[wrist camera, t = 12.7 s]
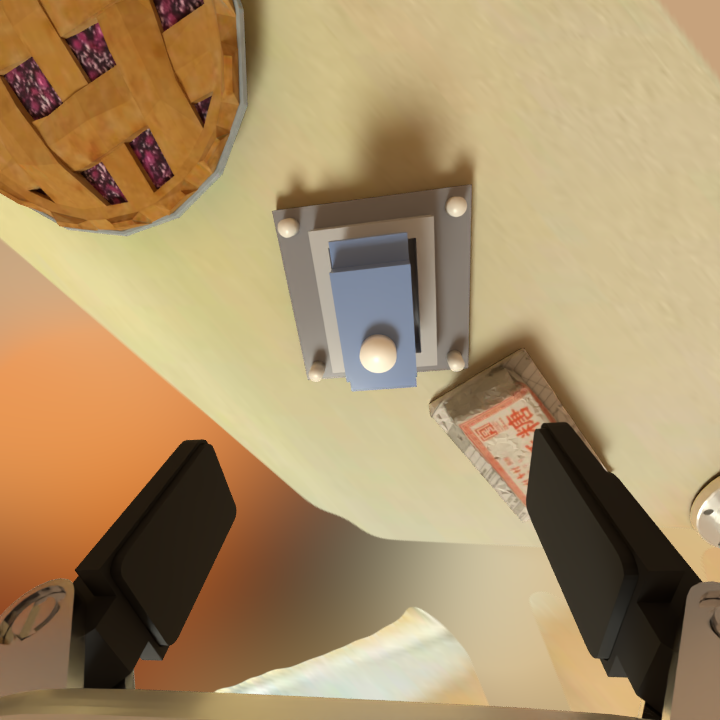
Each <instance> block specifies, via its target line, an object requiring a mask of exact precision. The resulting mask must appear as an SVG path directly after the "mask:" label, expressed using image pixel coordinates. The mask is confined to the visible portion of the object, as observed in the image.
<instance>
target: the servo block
mask: <svg viewBox="0 0 720 720" xmlns="http://www.w3.org/2000/svg"><path fill="white" fill-rule="evenodd" d="M328 243H329V249H330V256H331V262H332V270H331V272H330V273H329V275H330V281H331V288H332V294H333V300H334V306H335V312H336V318H337V325H338V331H339V337H340V343H341V349H342V355H343V362H344V368H345V374H346V380H347V382H350V383H351V390H352V391H364V390H378V389H392V388H406V387H417V385H416V377H417V368H416V351H415V334H414V317H413V301H412V284H411V267H410V262H409V253H408V237H407V231H406V232H398V233H390V234H382V235H374V236H366V237H358V238H350V239H342V240H334V241H329V242H328Z"/></svg>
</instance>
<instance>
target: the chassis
mask: <svg viewBox="0 0 720 720" xmlns="http://www.w3.org/2000/svg"><path fill="white" fill-rule="evenodd" d="M471 195H472V184H471V185H463V186H456V187H448V188H441V189H433V190H426V191H418V192H411V193H403V194H395V195H388V196H380V197H373V198H365V199H358V200H350V201H343V202H335V203H328V204H320V205H313V206H305V207H298V208H290V209H283V210H275V211H272V213H273V218H274V223H275V227H276V232H277V237H278V241H279V246H280V251H281V255H282V260H283V265H284V270H285V274H286V279H287V284H288V288H289V293H290V298H291V302H292V307H293V312H294V317H295V321H296V326H297V331H298V335H299V340H300V345H301V349H302V354H303V359H304V364H305V368H306V373H307V378H308V380H312V381H320V380H321V379H328V378H342V377H346V374H345V368H344V362H343V355H342V349H341V343H340V337H339V331H338V325H337V318H336V312H335V306H334V300H333V294H332V288H331V281H330V275H329V273H330V272H331V270H332V262H331V256H330V249H329V243H328V242H329V241H334V240H342V239H350V238H358V237H366V236H374V235H382V234H390V233H398V232H406V231H407V237H408V253H409V262H410V267H411V284H412V301H413V317H414V334H415V351H416V368H417V372H425V371H439V370H452V371H460V370H462V369H467V368H468V349H469V298H470V246H471Z"/></svg>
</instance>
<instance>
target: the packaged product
mask: <svg viewBox="0 0 720 720" xmlns="http://www.w3.org/2000/svg"><path fill="white" fill-rule="evenodd" d="M429 410H430V416H431V417H432V418H433V419H434V420H435V421H436V422H437V423H438V425H439V426H440V427H441V428H442V429H443V430H444V432H445V433H446V434H447V435H448V436H449V437H450V438H451V439H452V441H453V442H454V443H455V444H456V445H457V447H458V448H459V449H460V450H461V451H462V452H463V453H464V455H465V456H466V457H467V458H468V459H469V461H470V462H471V463H472V464H473V466H474V467H475V468H476V469H477V470H478V471H479V472H480V474H481V475H482V476H483V477H484V478H485V479H486V480H487V481H488V483H489V484H490V485H491V486H492V487H493V488H494V489H495V491H496V492H497V493H498V494H499V496H500V497H501V498H502V499H503V500H504V502H505V503H506V504H507V505H508V506H509V507H510V509H511V510H512V511H513V512H514V513H515V514H516V515H517V516H518V518H519V519H520V520H521V521H522V523H523V522H526V521H528V520H531V519H530V516H529V514H528V511H527V507H526V494H527V486H528V478H529V470H530V462H531V454H532V445H533V437H534V431H535V429H540V428H541V425H542V424H543V423H552V422H567V423H568V424H569V425H570V426H571V427H572V428H573V429H574V431H575V432H576V433H577V435H578V436H579V437H580V438H581V440H582V441H583V442H584V443H585V445H586V446H587V447H588V448H589V450H590V451H591V452H592V454H593V455H594V456H595V457H596V459H597V460H598V461H599V462H600V464H601V465H602V466H603V468H604V469H605V470H606V468H605V467H604V465H603V464H602V462H601V461H600V459H599V458H598V456H597V455H596V453H595V452H594V450H593V449H592V447H591V446H590V444H589V443H588V442H587V440H586V439H585V437H584V436H583V434H582V433H581V432H580V430H579V429H578V427H577V426H576V424H575V422H574V421H573V419H572V418H571V417H570V415H569V414H568V413H567V411H566V410H565V409H564V407H563V405H562V404H561V402H560V401H559V399H558V398H557V396H556V394H555V393H554V391H553V390H552V388H551V387H550V385H549V384H548V383H547V381H546V380H545V378H544V377H543V375H542V374H541V373H540V371H539V370H538V368H537V367H536V366H535V364H534V362H533V361H532V359H531V358H530V356H529V355H528V353H527V352H526V350H525V349H520V350H518V351H516V352H514V353H513V354H511V355H509V356H508V357H506V358H504V359H503V360H501V361H499V362H497V363H496V364H494V365H492V366H491V367H489V368H487V369H486V370H484V371H482V372H481V373H479V374H477V375H476V376H474V377H472V378H471V379H469V380H468V381H466V382H465V383H463V384H461V385H459V386H458V387H456V388H454V389H453V390H451V391H449V392H448V393H446V394H444V395H443V396H441V397H440V398H438V399H436V400H435V401H433V402H431V403H430V404H429ZM606 471H607V470H606Z"/></svg>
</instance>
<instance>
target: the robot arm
mask: <svg viewBox="0 0 720 720" xmlns="http://www.w3.org/2000/svg"><path fill="white" fill-rule="evenodd" d="M526 507H527V511H528V514H529V516H530V519H531V521H532V523H533V525H534V528H535V530H536V532H537V535H538V537H539V539H540V541H541V544H542V546H543V548H544V550H545V553H546V555H547V557H548V560H549V562H550V564H551V567H552V569H553V571H554V573H555V576H556V578H557V580H558V583H559V585H560V587H561V589H562V592H563V594H564V596H565V599H566V601H567V603H568V606H569V608H570V610H571V612H572V615H573V617H574V619H575V622H576V624H577V626H578V628H579V631H580V633H581V635H582V638H583V640H584V642H585V644H586V647H587V649H588V651H589V652H590V654H591V655H592V656H593V657H594V658H600V660H601V662H602V664H603V667H604V669H605V671H606V673H607V675H608V677H628V679H629V681H630V683H631V685H632V687H633V689H634V691H635V693H636V695H638V696H639V697H640V698H641V703H640V708H639V713H638V718H635V717H628V716H620V715H612V714H598V713H585V712H571V711H557V710H544V709H531V708H516V707H496V706H479V705H460V704H441V703H423V702H404V701H385V700H364V699H344V698H323V697H302V696H281V695H259V694H237V693H213V692H189V691H163V690H141V689H135V682H134V667H135V665H136V663H137V661H138V659H139V658H141V659H142V660H163V658H164V656H165V654H166V652H167V650H168V648H169V646H170V645H172V644H173V643H174V642H175V641H176V640H177V638H178V637H179V635H180V632H181V630H182V628H183V626H184V624H185V621H186V620H187V618H188V616H189V614H190V612H191V610H192V607H193V605H194V603H195V601H196V599H197V597H198V595H199V593H200V591H201V589H202V587H203V584H204V582H205V580H206V578H207V576H208V574H209V572H210V570H211V568H212V566H213V564H214V561H215V559H216V557H217V555H218V553H219V551H220V549H221V547H222V544H223V542H224V541H225V538H226V536H227V534H228V532H229V530H230V528H231V526H232V524H233V522H234V519H235V517H236V505H235V503H234V500H233V498H232V495H231V492H230V490H229V487H228V485H227V482H226V480H225V477H224V474H223V472H222V469H221V467H220V464H219V461H218V459H217V456H216V453H215V451H214V448H213V446H212V445H210V444H208V443H207V441H206V440H186V441H183V442H182V444H180V445H179V447H178V448H177V449H176V450H175V451H174V453H173V454H172V455H171V456H170V457H169V458H168V460H167V461H166V462H165V463H164V464H163V466H162V467H161V468H160V469H159V470H158V472H157V473H156V474H155V475H154V476H153V477H152V479H151V480H150V481H149V482H148V483H147V485H146V486H145V487H144V488H143V489H142V491H141V492H140V493H139V494H138V496H137V497H136V498H135V499H134V500H133V501H132V502H131V504H130V505H129V506H128V507H127V508H126V510H125V511H124V512H123V513H122V515H121V516H120V517H119V518H118V519H117V520H116V522H115V523H114V524H113V525H112V526H111V527H110V529H109V530H108V531H107V532H106V533H105V535H104V536H103V537H102V538H101V539H100V541H99V542H98V543H97V544H96V545H95V547H94V548H93V549H92V550H91V551H90V552H89V554H88V555H87V556H86V557H85V558H84V560H83V561H82V562H81V563H80V564H79V566H78V567H77V568H76V569H75V571H76V572H77V574H78V575H79V576H78V577H77V579H76V580H75V581H74V582H73V583H72V582H71V581H70V580H68V579H55V580H51V581H48V582H46V583H44V584H41V585H39V586H37V587H35V588H33V589H32V590H30V591H29V592H27V593H25V594H24V595H23V596H21V597H20V598H19V599H18V600H16V601H15V602H14V603H13V604H11V605H10V607H8V608H7V609H6V610H5V611H4V612H3V614H1V616H0V720H720V583H718V582H702V581H701V580H700V579H699V577H698V576H697V575H696V573H695V572H694V571H693V570H692V569H691V567H690V566H689V565H688V564H687V563H686V561H685V560H684V559H683V557H682V556H681V555H680V554H679V553H678V551H677V550H676V549H675V548H674V546H673V545H672V544H671V543H670V541H669V540H668V539H667V538H666V536H665V535H664V534H663V533H662V532H661V530H660V529H659V528H658V527H657V525H656V524H655V523H654V522H653V520H652V519H651V518H650V517H649V515H648V514H647V513H646V512H645V511H644V509H643V508H642V507H641V506H640V504H639V503H638V502H637V501H636V499H635V498H634V497H633V496H632V495H631V493H630V492H629V491H628V490H627V488H626V487H625V486H624V485H623V483H622V482H621V481H620V480H619V479H618V478H617V477H616V476H615V475H614V474H613V473H611V472H607V471H606V470H605V469H604V468H603V466H602V465H601V464H600V462H599V461H598V460H597V459H596V457H595V456H594V455H593V454H592V452H591V451H590V450H589V448H588V447H587V446H586V445H585V443H584V442H583V441H582V440H581V438H580V437H579V436H578V435H577V433H576V432H575V431H574V429H573V428H572V427H571V426H570V425H569V424H568V423H567V422H552V423H543V424H542V425H541V428H540V429H535V431H534V437H533V445H532V454H531V462H530V470H529V478H528V486H527V494H526ZM690 520H691V524H692V526H693V528H694V530H695V531H696V532H697V533H698V534H699V535H700V536H701V537H702V539H704V540H705V541H706V542H708V543H709V544H710V545H713V546H715V547H717V548H720V476H719V477H717V478H716V479H714V480H713V481H711V482H710V483H709V484H708V485H707V486H706V487H705V488H704V489H703V490H702V491H701V492H700V493H699V495H698V496H697V497H696V499H695V501H694V503H693V505H692V507H691V512H690Z"/></svg>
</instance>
